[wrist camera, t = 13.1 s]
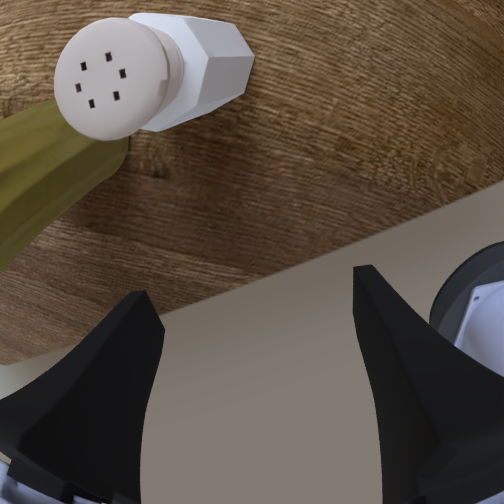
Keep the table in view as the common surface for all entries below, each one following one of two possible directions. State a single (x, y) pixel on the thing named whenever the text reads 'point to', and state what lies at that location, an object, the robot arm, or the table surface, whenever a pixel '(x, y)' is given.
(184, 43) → the pepper shaker
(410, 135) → the table surface
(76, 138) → the vase
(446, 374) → the robot arm
